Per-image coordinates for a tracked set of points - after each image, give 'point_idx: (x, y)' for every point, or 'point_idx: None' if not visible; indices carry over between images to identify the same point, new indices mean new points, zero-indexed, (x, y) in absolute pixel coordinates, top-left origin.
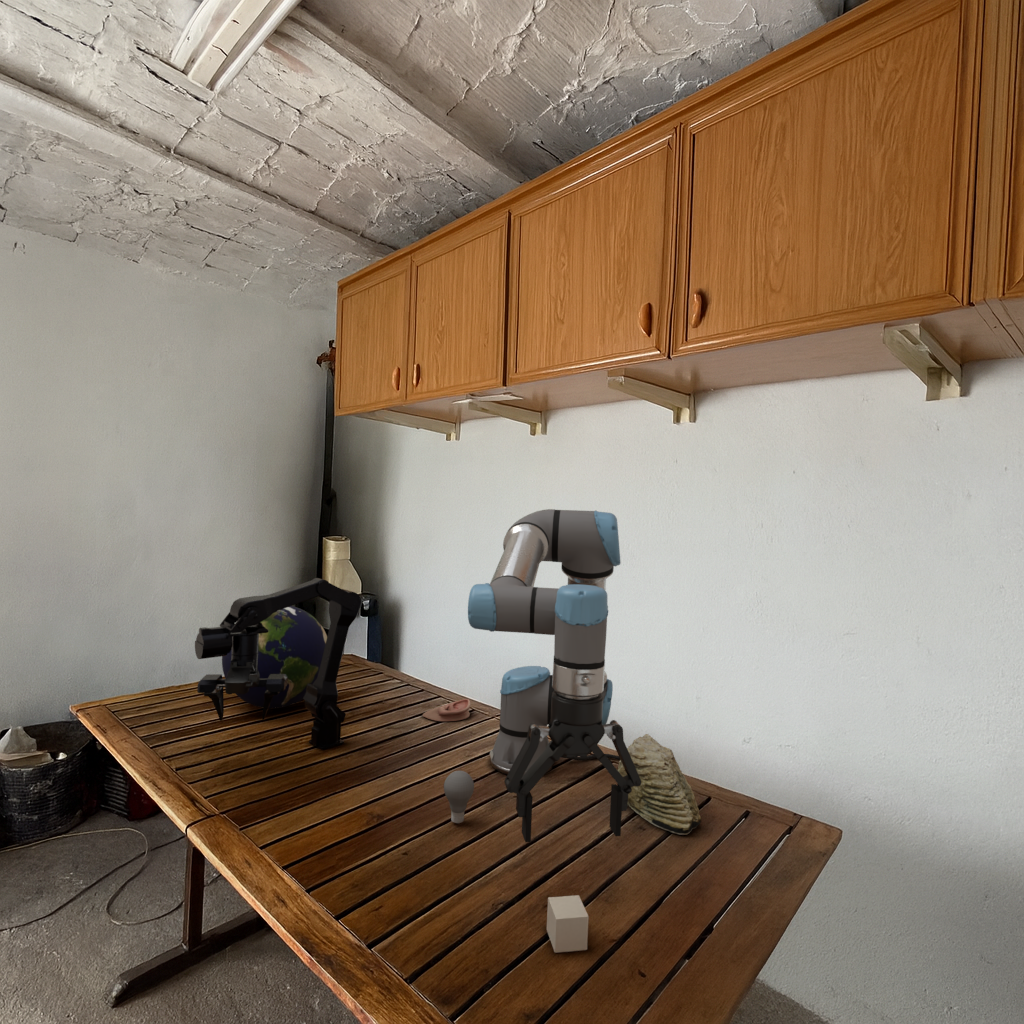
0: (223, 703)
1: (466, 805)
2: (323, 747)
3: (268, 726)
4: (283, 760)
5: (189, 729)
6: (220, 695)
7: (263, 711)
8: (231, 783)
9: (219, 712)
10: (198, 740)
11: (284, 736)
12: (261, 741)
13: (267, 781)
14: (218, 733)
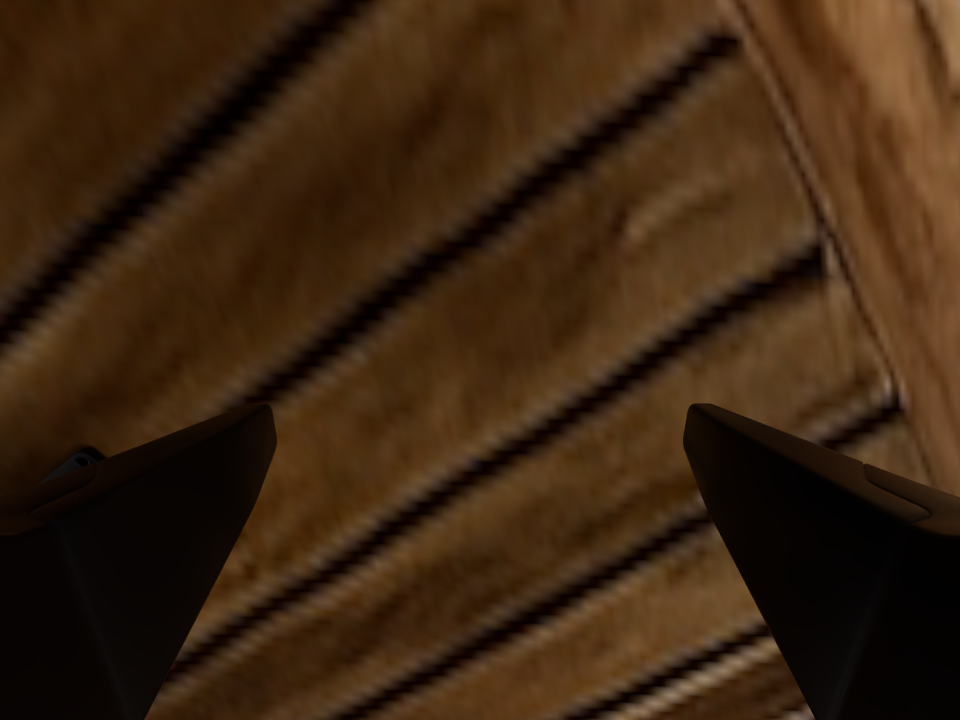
0: (759, 607)
1: None
2: (76, 456)
3: (450, 709)
4: (256, 332)
5: (793, 699)
6: (929, 669)
7: (202, 437)
8: (473, 6)
9: (764, 437)
10: (742, 593)
11: (345, 610)
12: (441, 565)
13: (252, 17)
14: (660, 656)
